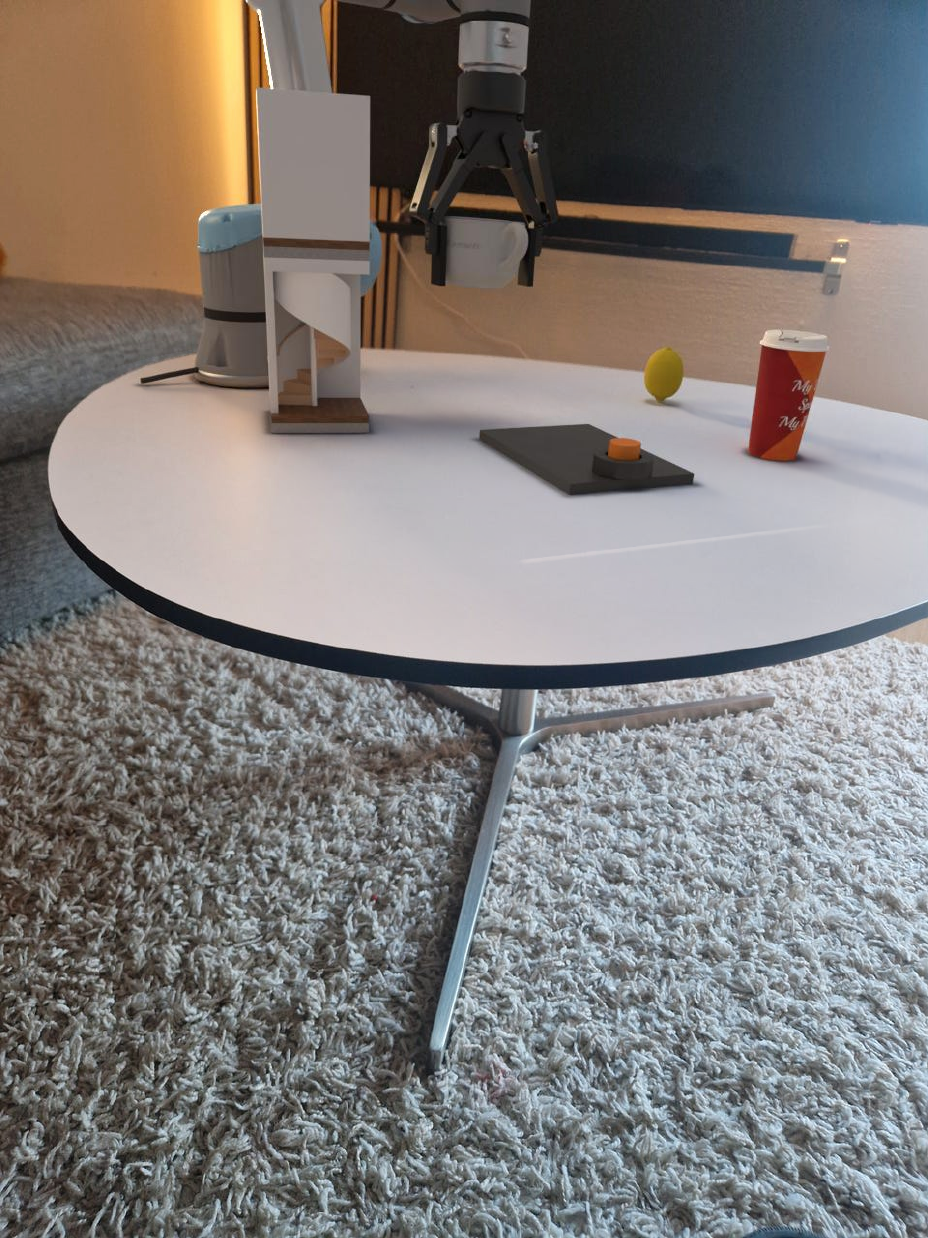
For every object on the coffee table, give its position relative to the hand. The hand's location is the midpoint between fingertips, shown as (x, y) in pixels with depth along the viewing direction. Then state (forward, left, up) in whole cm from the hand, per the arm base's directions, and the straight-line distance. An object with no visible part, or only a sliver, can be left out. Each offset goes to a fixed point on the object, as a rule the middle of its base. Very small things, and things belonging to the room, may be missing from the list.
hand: (482, 285), depth 108 cm
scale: (+4, -19, -16) cm, 26 cm away
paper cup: (+29, -22, -17) cm, 41 cm away
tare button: (+4, -28, -14) cm, 31 cm away
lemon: (+32, +6, -17) cm, 37 cm away
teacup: (0, 0, -1) cm, 1 cm away
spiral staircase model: (-20, +4, -17) cm, 26 cm away
